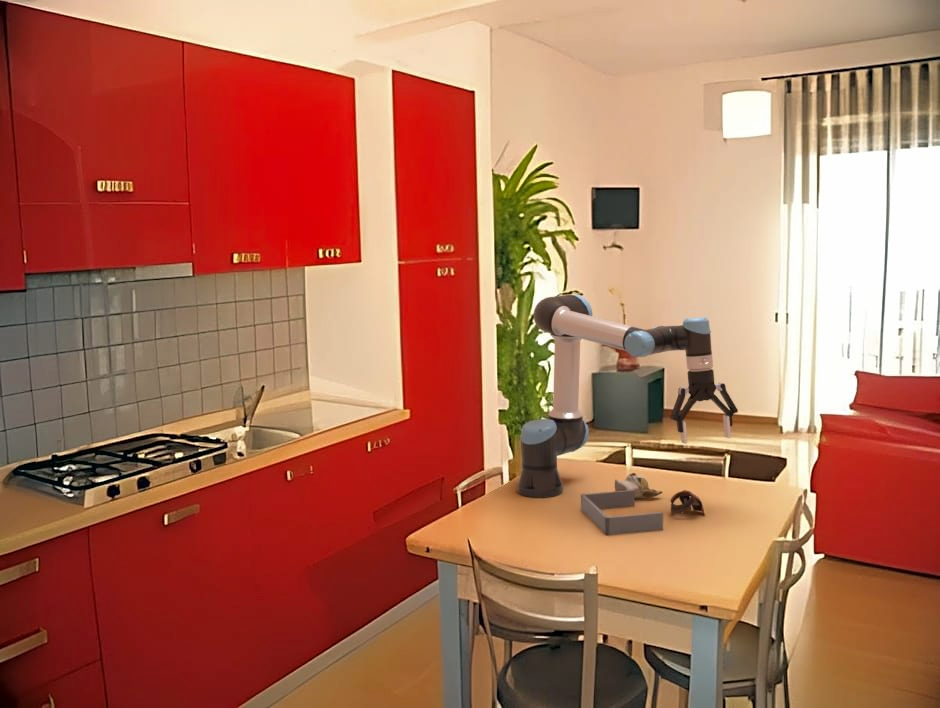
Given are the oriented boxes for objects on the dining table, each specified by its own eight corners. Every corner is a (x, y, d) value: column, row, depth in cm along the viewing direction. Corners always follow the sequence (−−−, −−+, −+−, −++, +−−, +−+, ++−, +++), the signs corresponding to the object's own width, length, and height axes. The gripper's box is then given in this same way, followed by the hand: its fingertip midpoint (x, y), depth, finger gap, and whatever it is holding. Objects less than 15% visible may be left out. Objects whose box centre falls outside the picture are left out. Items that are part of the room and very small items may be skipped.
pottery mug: (710, 520, 258) (699, 499, 255) (681, 533, 260) (669, 512, 257) (700, 498, 269) (689, 478, 266) (672, 511, 271) (661, 491, 268)
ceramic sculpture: (606, 470, 281) (644, 467, 287) (605, 497, 282) (643, 492, 288) (625, 479, 271) (664, 475, 278) (624, 506, 272) (663, 501, 279)
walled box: (580, 510, 270) (580, 494, 270) (633, 505, 273) (633, 489, 272) (606, 535, 247) (605, 518, 246) (663, 529, 250) (662, 512, 249)
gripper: (664, 375, 253) (670, 447, 255) (745, 365, 257) (751, 436, 258) (655, 373, 261) (661, 443, 262) (734, 364, 264) (740, 433, 265)
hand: (706, 440), depth 260 cm, fingers open, 13 cm apart
